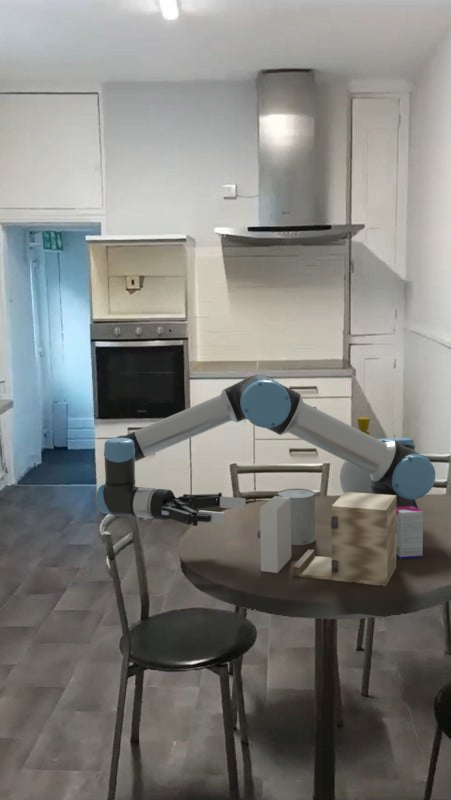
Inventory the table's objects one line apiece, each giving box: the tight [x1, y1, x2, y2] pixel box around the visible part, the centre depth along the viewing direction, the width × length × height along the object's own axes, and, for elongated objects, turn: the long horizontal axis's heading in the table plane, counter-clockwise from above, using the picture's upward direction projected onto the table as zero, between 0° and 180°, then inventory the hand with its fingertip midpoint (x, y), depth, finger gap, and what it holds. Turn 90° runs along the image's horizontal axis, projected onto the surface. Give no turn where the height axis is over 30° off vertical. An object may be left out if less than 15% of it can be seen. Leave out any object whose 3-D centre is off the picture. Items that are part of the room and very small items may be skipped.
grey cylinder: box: [277, 488, 316, 546], centre depth 209 cm, size 10×10×12 cm
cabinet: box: [292, 492, 397, 587], centre depth 183 cm, size 21×14×17 cm
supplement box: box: [396, 506, 424, 560], centre depth 195 cm, size 6×6×12 cm
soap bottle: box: [339, 416, 371, 494], centre depth 241 cm, size 14×9×26 cm, turn 70°
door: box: [256, 495, 292, 573], centre depth 190 cm, size 5×11×15 cm, turn 159°
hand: (235, 511), depth 193 cm, fingers open, 13 cm apart
